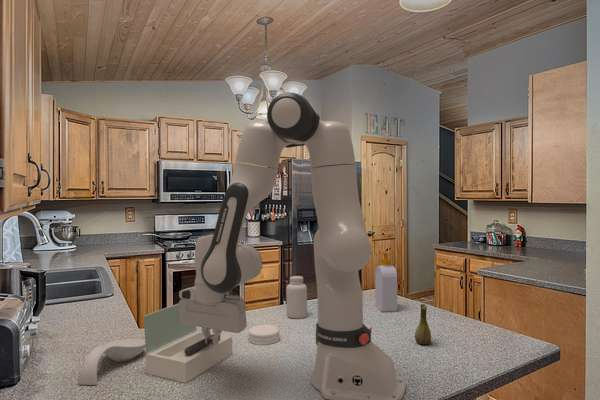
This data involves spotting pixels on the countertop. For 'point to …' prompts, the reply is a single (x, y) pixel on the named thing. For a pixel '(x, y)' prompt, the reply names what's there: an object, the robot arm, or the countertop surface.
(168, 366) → the beige rectangular box
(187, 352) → the black rounded rod
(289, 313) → the pill bottle
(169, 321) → the cover
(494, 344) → the countertop surface
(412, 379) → the countertop surface
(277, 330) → the beige short cylinder
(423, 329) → the olive green bottle shape
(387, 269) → the soap bottle
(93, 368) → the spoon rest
